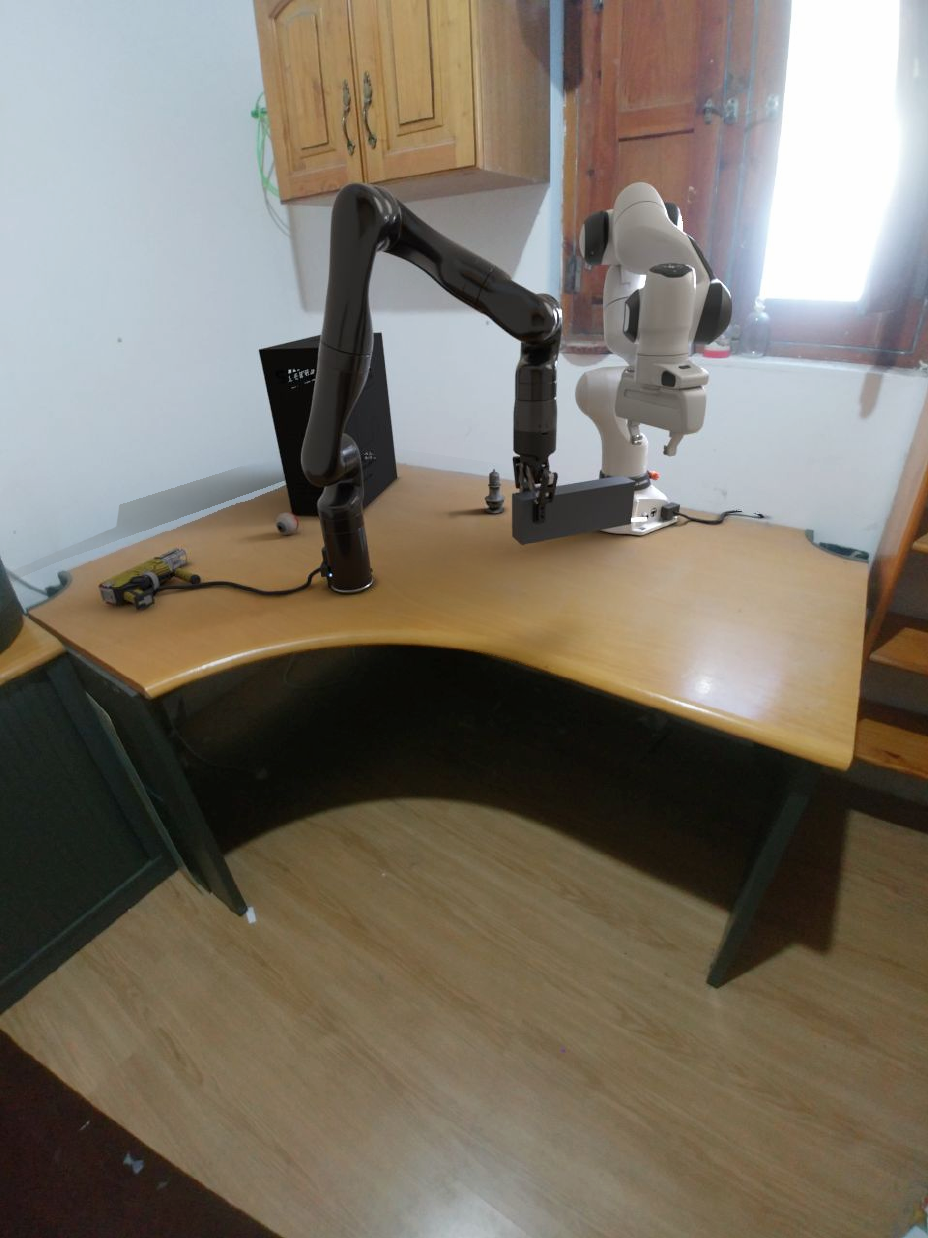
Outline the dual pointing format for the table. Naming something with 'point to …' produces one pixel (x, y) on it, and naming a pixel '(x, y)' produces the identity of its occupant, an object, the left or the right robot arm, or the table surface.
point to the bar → (575, 510)
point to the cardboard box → (294, 409)
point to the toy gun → (146, 580)
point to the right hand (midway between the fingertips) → (652, 449)
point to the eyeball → (287, 523)
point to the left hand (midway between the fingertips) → (533, 517)
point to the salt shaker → (494, 494)
